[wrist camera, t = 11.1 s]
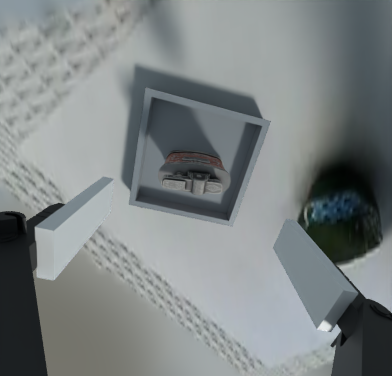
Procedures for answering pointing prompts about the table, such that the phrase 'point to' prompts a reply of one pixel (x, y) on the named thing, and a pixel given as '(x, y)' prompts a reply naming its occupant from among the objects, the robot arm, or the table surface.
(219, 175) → the lighter
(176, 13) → the table surface
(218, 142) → the tray
